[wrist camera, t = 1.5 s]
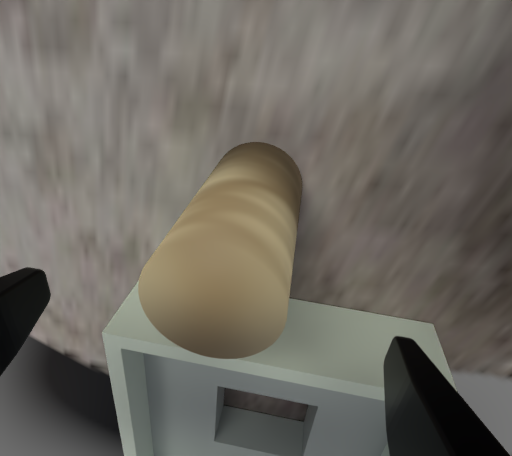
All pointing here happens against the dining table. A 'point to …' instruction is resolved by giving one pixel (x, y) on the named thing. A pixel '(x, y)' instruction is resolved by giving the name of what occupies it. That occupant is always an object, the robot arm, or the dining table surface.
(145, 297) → the peg
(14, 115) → the dining table surface
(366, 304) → the dining table surface
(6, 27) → the dining table surface
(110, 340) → the caddy
